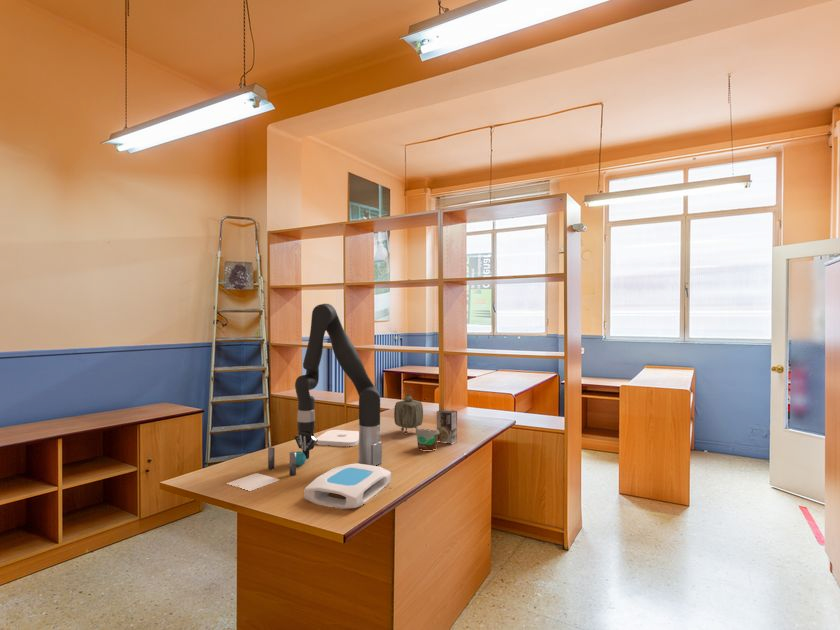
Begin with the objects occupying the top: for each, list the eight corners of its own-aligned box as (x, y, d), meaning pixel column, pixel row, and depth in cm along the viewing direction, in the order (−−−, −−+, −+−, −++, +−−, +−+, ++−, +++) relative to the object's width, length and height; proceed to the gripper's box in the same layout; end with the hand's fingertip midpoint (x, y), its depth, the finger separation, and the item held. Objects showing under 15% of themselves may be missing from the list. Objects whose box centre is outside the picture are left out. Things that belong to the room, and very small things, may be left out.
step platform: (302, 502, 157) (303, 484, 157) (345, 476, 183) (345, 461, 183) (355, 512, 149) (355, 493, 149) (391, 483, 175) (392, 467, 175)
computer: (354, 448, 223) (354, 442, 223) (312, 445, 227) (312, 440, 227) (367, 436, 244) (367, 431, 244) (329, 434, 249) (329, 429, 249)
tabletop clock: (423, 433, 251) (423, 388, 251) (414, 436, 243) (414, 390, 243) (401, 429, 259) (401, 386, 259) (392, 432, 251) (392, 388, 251)
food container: (411, 450, 218) (411, 429, 218) (416, 446, 224) (416, 426, 224) (435, 453, 214) (435, 432, 214) (439, 449, 219) (439, 429, 220)
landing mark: (279, 480, 177) (279, 479, 177) (249, 491, 166) (249, 491, 166) (256, 473, 185) (256, 472, 185) (226, 483, 173) (226, 483, 173)
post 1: (275, 468, 191) (275, 447, 191) (270, 470, 189) (270, 448, 189) (271, 467, 192) (271, 446, 192) (266, 469, 190) (266, 447, 190)
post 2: (297, 474, 184) (297, 452, 184) (292, 476, 182) (292, 453, 182) (292, 473, 185) (293, 451, 185) (288, 475, 183) (288, 452, 183)
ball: (307, 450, 195) (297, 456, 190) (309, 462, 196) (299, 469, 191) (298, 447, 199) (287, 454, 194) (300, 460, 200) (289, 467, 195)
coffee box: (457, 442, 233) (457, 410, 233) (451, 444, 228) (451, 413, 228) (442, 439, 238) (442, 408, 238) (436, 442, 233) (436, 410, 233)
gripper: (323, 420, 199) (322, 459, 199) (302, 416, 206) (302, 454, 206) (310, 423, 192) (309, 463, 192) (289, 419, 200) (289, 458, 200)
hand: (305, 458), depth 199 cm, fingers closed
